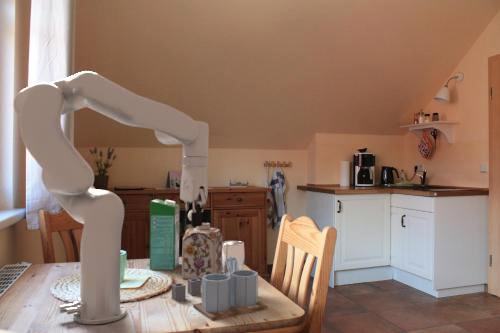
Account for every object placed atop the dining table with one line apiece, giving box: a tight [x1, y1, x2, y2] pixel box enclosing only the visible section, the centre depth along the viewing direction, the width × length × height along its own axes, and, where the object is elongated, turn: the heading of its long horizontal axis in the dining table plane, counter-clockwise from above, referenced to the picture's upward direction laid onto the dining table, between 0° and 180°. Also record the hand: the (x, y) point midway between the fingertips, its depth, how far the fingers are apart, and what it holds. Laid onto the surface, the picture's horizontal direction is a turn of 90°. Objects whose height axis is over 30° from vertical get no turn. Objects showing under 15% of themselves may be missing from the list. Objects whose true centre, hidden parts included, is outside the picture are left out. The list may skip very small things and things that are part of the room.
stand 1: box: [171, 282, 187, 302], centre depth 120 cm, size 3×3×4 cm
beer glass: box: [221, 240, 245, 276], centre depth 127 cm, size 7×7×15 cm
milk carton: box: [149, 198, 180, 271], centre depth 157 cm, size 9×9×25 cm
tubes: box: [201, 269, 259, 313], centre depth 113 cm, size 16×7×8 cm, turn 122°
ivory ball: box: [188, 210, 193, 220], centre depth 125 cm, size 4×4×4 cm
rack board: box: [192, 300, 268, 321], centre depth 113 cm, size 17×11×1 cm, turn 122°
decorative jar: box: [181, 222, 224, 281], centre depth 146 cm, size 12×12×18 cm
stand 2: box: [186, 278, 202, 296], centre depth 125 cm, size 3×3×4 cm
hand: (193, 224), depth 125 cm, fingers closed on ivory ball, 3 cm apart
